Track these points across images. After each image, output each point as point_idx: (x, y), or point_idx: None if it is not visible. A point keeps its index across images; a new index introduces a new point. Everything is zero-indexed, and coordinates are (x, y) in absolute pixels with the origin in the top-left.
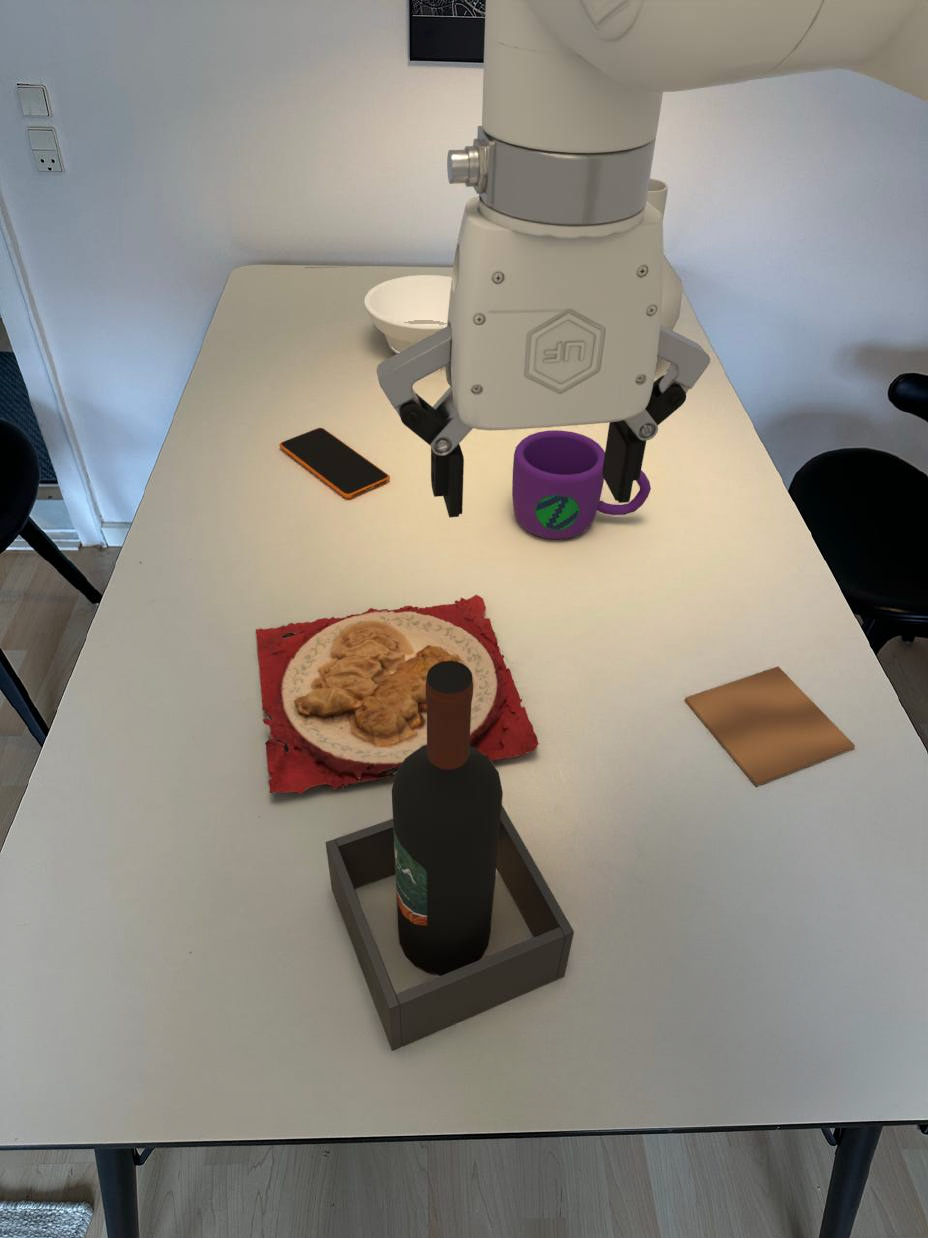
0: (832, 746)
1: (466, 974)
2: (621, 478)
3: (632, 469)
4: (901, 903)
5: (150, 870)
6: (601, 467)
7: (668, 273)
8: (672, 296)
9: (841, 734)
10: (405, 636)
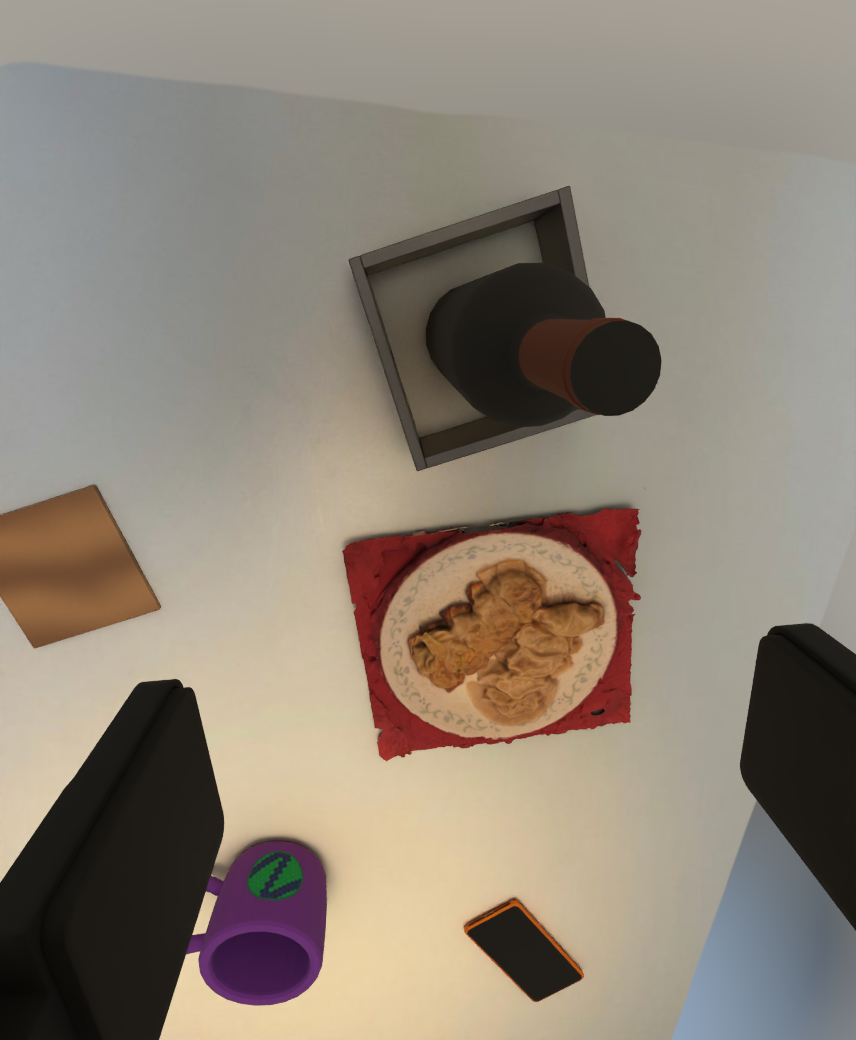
0: None
1: (479, 218)
2: (145, 756)
3: (77, 792)
4: None
5: (753, 434)
6: (208, 944)
7: None
8: None
9: None
10: (473, 705)
